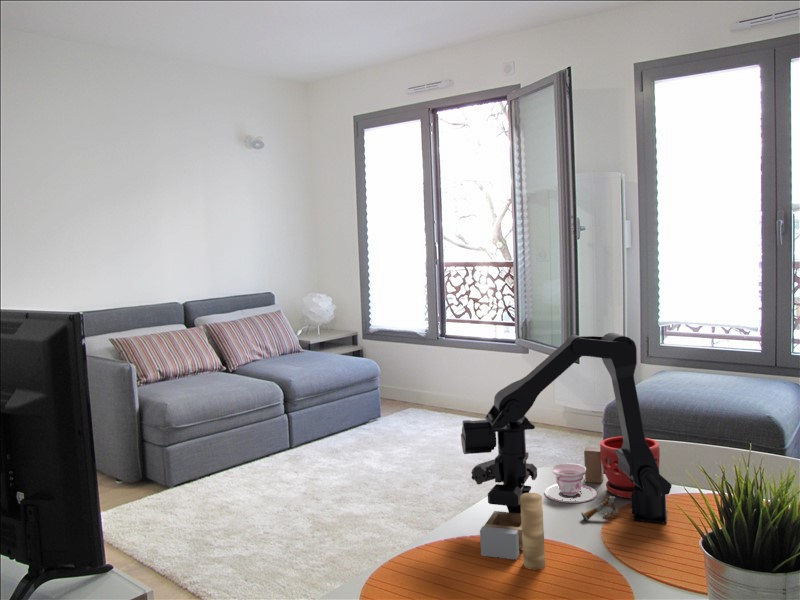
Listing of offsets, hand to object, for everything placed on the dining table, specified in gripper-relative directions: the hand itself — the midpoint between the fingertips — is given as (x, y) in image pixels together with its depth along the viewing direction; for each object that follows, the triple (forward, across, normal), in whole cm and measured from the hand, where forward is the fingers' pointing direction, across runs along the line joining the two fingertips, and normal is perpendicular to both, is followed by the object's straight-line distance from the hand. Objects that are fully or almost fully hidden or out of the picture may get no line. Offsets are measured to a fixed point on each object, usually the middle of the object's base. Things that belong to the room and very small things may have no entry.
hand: (515, 522), depth 144 cm
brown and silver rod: (+1, -10, +16) cm, 19 cm away
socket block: (+1, +6, 0) cm, 6 cm away
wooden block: (+1, -33, +12) cm, 35 cm away
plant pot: (+1, -27, +21) cm, 34 cm away
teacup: (+2, -22, +8) cm, 24 cm away
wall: (+1, +13, 0) cm, 13 cm away
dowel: (+1, +15, +7) cm, 17 cm away
